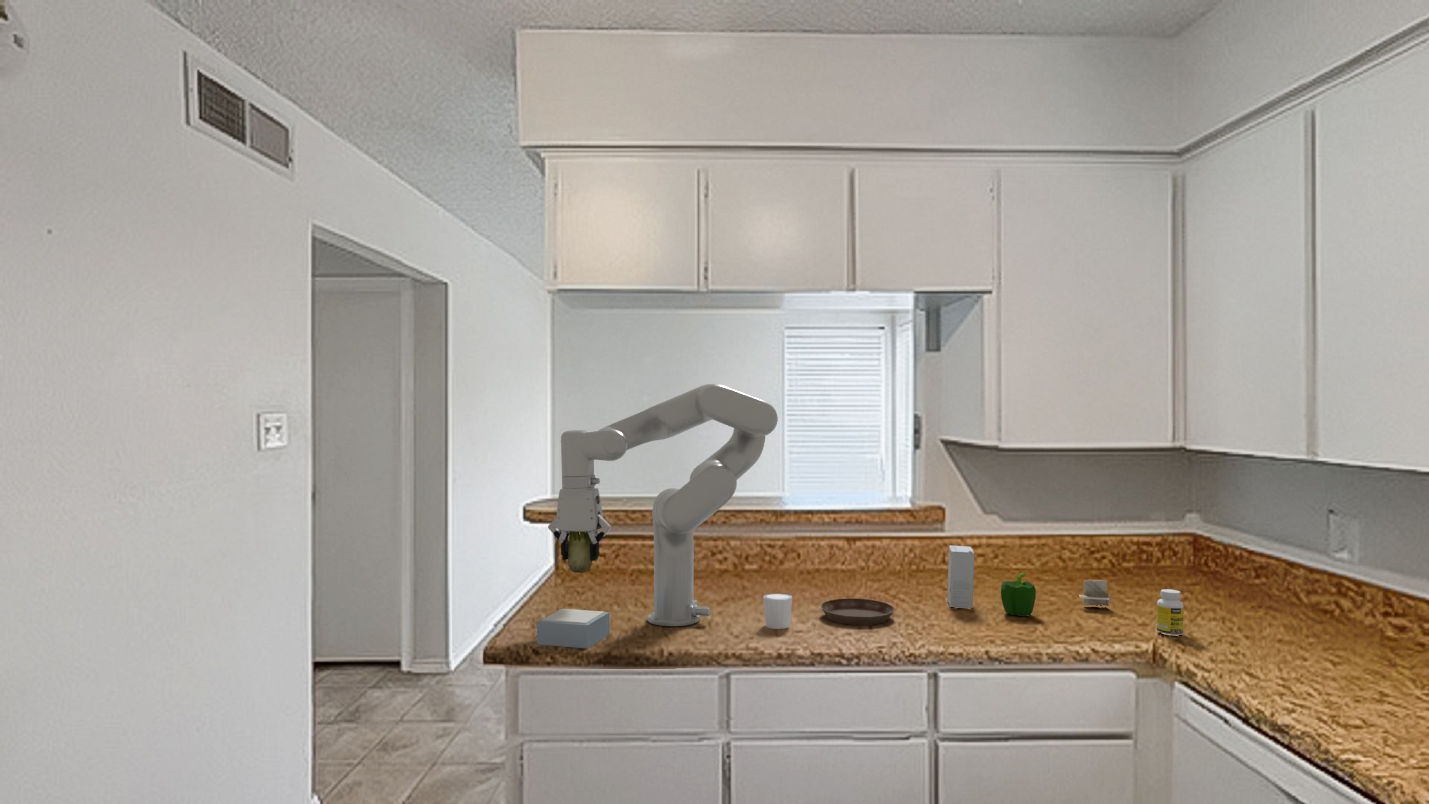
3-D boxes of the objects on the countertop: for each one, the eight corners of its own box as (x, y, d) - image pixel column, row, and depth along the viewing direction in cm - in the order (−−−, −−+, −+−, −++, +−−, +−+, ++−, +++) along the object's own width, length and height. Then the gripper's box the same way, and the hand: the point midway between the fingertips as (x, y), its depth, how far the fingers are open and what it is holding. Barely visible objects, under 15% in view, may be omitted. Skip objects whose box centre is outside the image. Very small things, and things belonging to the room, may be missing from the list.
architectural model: (1110, 613, 229) (1110, 583, 229) (1081, 611, 230) (1081, 582, 230) (1107, 609, 232) (1107, 580, 232) (1078, 608, 233) (1078, 579, 233)
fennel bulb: (596, 572, 214) (594, 521, 214) (578, 575, 210) (577, 523, 210) (581, 569, 218) (579, 519, 218) (564, 572, 215) (562, 521, 214)
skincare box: (947, 601, 240) (947, 544, 239) (970, 602, 239) (971, 545, 238) (950, 609, 231) (950, 550, 231) (974, 609, 230) (974, 551, 230)
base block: (609, 634, 207) (609, 611, 207) (587, 648, 195) (587, 623, 195) (560, 630, 210) (560, 607, 210) (536, 644, 198) (536, 620, 198)
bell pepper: (1018, 620, 220) (1018, 578, 220) (994, 612, 227) (994, 572, 227) (1044, 616, 223) (1044, 575, 223) (1019, 609, 231) (1019, 569, 231)
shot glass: (762, 622, 218) (762, 592, 218) (791, 622, 218) (791, 593, 218) (763, 629, 211) (763, 599, 211) (793, 629, 211) (793, 599, 211)
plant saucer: (905, 626, 215) (905, 613, 215) (832, 629, 212) (832, 616, 212) (879, 609, 232) (879, 597, 232) (812, 611, 230) (812, 599, 229)
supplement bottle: (1171, 638, 203) (1171, 594, 203) (1151, 632, 208) (1151, 589, 208) (1188, 635, 206) (1189, 592, 206) (1168, 630, 211) (1168, 587, 211)
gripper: (618, 481, 215) (620, 557, 215) (551, 481, 220) (553, 555, 220) (606, 485, 208) (608, 563, 208) (537, 484, 213) (539, 561, 213)
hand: (580, 558), depth 214 cm, fingers closed on fennel bulb, 6 cm apart
